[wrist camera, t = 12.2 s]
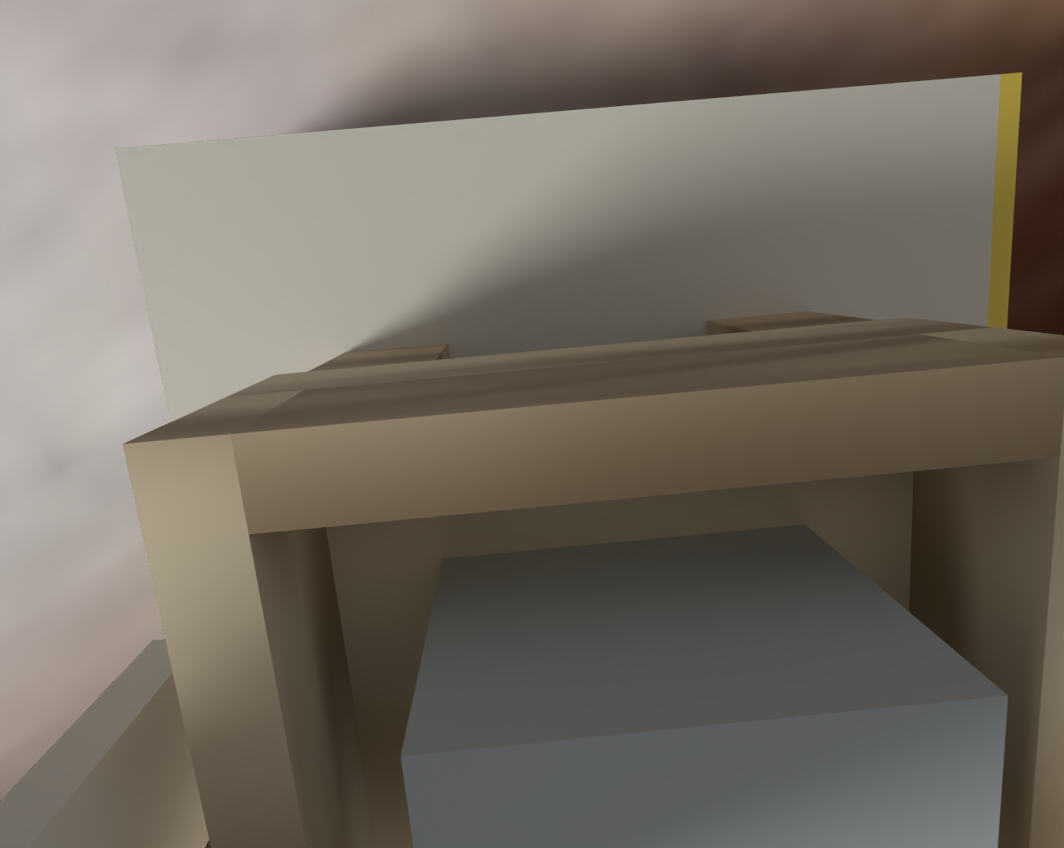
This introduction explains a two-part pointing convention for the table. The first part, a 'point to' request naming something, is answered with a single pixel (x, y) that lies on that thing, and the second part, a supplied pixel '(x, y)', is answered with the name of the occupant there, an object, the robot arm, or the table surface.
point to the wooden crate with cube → (586, 527)
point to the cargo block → (694, 704)
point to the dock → (572, 227)
